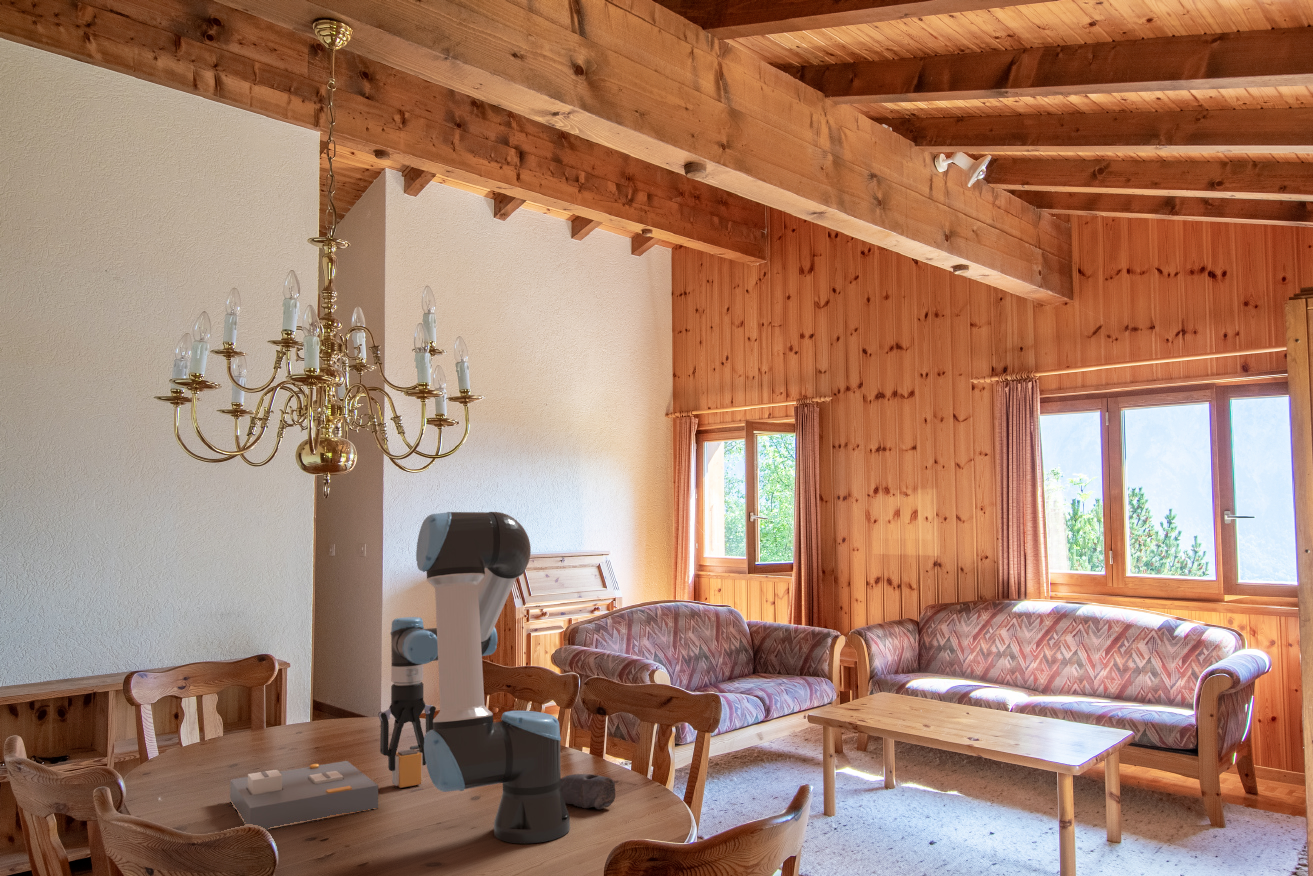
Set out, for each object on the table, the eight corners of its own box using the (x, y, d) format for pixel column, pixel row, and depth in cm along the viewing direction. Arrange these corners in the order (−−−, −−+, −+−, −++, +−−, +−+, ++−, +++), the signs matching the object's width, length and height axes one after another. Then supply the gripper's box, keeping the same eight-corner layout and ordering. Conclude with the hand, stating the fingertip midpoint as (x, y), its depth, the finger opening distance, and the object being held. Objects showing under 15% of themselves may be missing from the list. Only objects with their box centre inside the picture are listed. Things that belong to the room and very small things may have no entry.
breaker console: (378, 808, 199) (378, 782, 199) (249, 833, 185) (250, 805, 185) (346, 782, 220) (347, 758, 221) (230, 802, 206) (230, 776, 207)
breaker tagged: (342, 799, 204) (343, 775, 205) (315, 804, 201) (315, 780, 202) (336, 793, 209) (336, 769, 210) (309, 797, 206) (309, 774, 207)
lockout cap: (421, 784, 215) (421, 752, 216) (400, 787, 213) (400, 755, 213) (414, 779, 220) (414, 748, 220) (394, 783, 217) (394, 751, 218)
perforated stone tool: (549, 804, 199) (548, 772, 200) (564, 798, 204) (564, 766, 204) (603, 815, 191) (602, 781, 192) (618, 808, 195) (617, 775, 196)
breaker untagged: (281, 799, 198) (282, 774, 198) (252, 804, 194) (252, 779, 195) (276, 792, 203) (276, 768, 203) (247, 797, 199) (247, 773, 200)
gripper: (374, 689, 211) (374, 792, 208) (448, 680, 220) (449, 778, 218) (365, 685, 217) (364, 785, 214) (438, 676, 227) (438, 772, 224)
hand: (407, 781), depth 216 cm, fingers closed on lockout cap, 5 cm apart
